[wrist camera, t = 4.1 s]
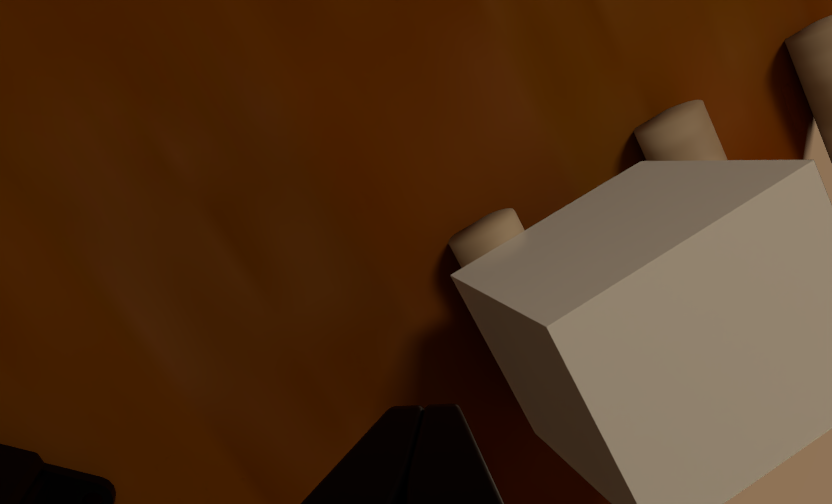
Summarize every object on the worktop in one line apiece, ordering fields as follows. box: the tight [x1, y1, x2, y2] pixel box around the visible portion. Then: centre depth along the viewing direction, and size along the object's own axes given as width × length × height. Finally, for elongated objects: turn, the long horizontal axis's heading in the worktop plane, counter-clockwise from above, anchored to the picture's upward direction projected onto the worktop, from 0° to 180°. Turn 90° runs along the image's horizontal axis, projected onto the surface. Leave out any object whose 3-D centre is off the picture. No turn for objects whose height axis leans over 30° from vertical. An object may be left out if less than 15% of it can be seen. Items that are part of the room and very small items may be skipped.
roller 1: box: [448, 208, 525, 268], centre depth 20 cm, size 6×2×2 cm
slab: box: [450, 160, 832, 504], centre depth 16 cm, size 6×5×6 cm
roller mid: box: [634, 100, 727, 161], centre depth 21 cm, size 6×2×2 cm
